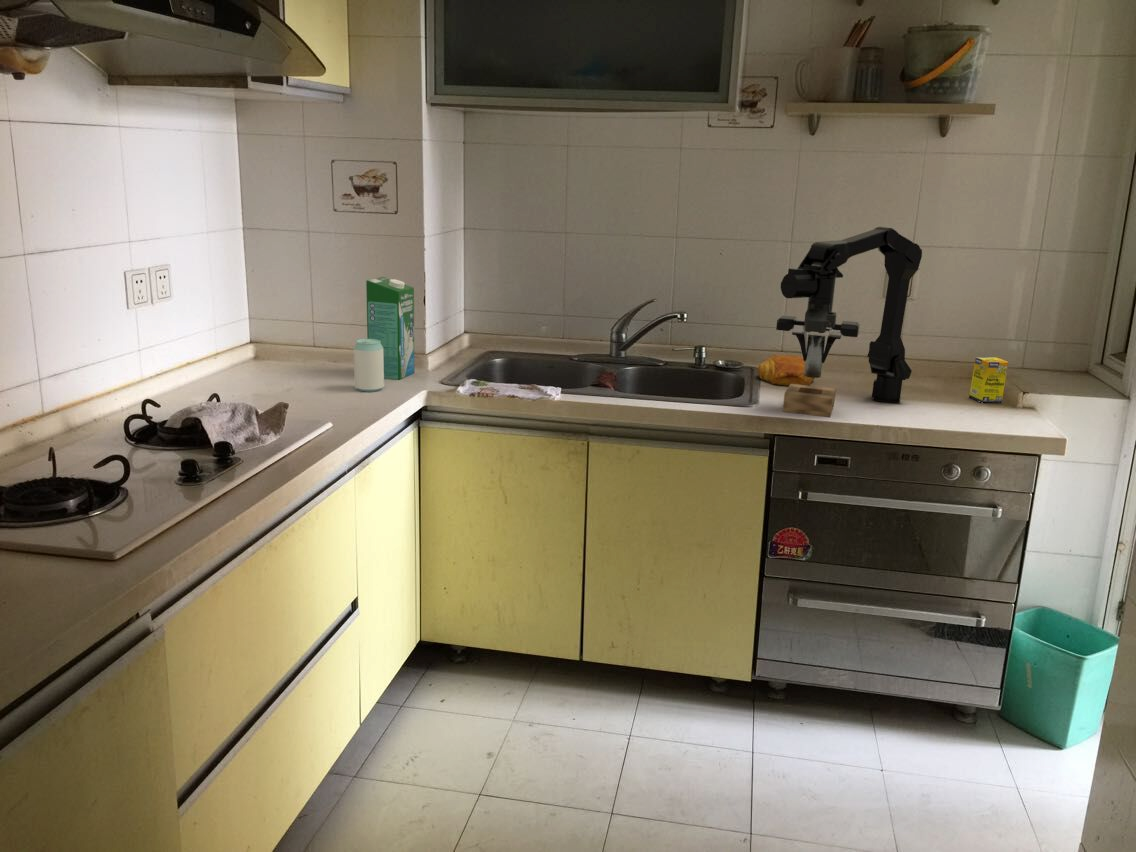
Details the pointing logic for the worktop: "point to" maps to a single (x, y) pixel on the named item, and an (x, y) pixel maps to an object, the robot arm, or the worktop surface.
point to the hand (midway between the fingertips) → (814, 361)
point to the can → (368, 365)
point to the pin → (814, 355)
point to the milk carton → (392, 324)
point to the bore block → (809, 400)
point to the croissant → (784, 370)
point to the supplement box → (988, 379)
